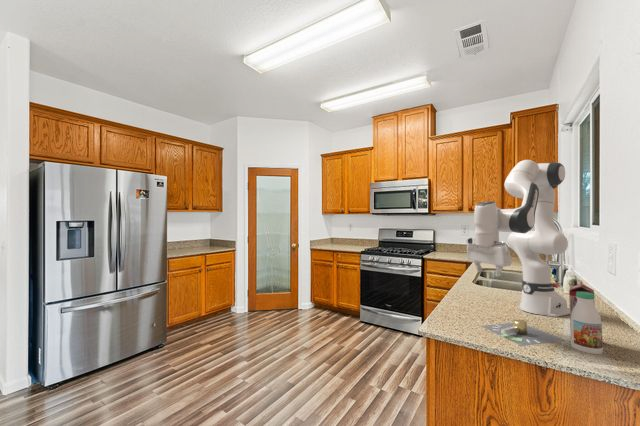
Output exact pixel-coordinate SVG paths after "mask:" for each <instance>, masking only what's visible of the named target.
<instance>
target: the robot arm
mask: <svg viewBox="0 0 640 426" xmlns="http://www.w3.org/2000/svg"><path fill="white" fill-rule="evenodd" d="M565 177H566V168H565V166H564V165H563V163H562V162H561V163H560V162H544V163H543V162H541V163H537V162H536V161H534V160H531V159H523V160H521V161H519V162H517V164H515V166H514V167H513V168H511V170H510V172H509V173H508V175H507V177H506V178H505V181H504V184H503V186H504V188H505V191H506V192H507V193H508V194H509V195H510V196H511V197H514V198H518V199H522V202H521V204H520V205H521V206H519V207H516V208H503V209H502V208H500V207H498V206H497V203H496V201H492V200H491V201H490V200H489V201H488V200H487V201H482V202H481V201H480V202H478V203H476V204H475V206H474V211H473V213H474V214H473V223H474V226H475V227H474V228H475V230H474V236H471V237H469V238H466V244H467V245H466V257H467V260H468V261H473V263H474V266H475V267H476V272H478V273H483V271H484V270H483V267H482V265H481V264H482V263H483V264H488V265H493V266H495V268H496V270H495V271H493V276H495V277H497V278H499V277H501V275H502V273H501V272H502V271H503V269H504V267H510V266H511V265H512V256H511V251H510V249H511V250H513V252H515V254H516V255H517V256H518V258H519V261H520V263H521V269H522V280H521V287H522V290H521V297H520V303H519V309H520V310H521V311H524V312H525V313H526V312H527V313H530V314H535V315H540V316H548V317H549V316H550V317H553V318H558V317H563V316H567V315H570V307H568V301H567V299H566V298H565V297H564V296H562V295H561V294H560V293H558V292H557V291H556V290H555V288H556V289H559V287H560V285H559V283H555V282H552V269H551V266H550V265H549V264H548V263H547V262H546V261H544V260H543V259H542V258H541V256H540V255H549V256H551V255H562V254H564V253H565V252H566V250H568V247H569V241H568V238H567V237H566V236H565V235H564V234H563V233H562V232H560V231H559V229H558V228H557V226H556V223H555V207H556V206H555V205H556V188H557V187H558V186H559V185H561V183H563V182H564V181H565V179H566V178H565ZM533 228H534V230H532V229H533ZM500 232H501V233H502V232H504V233H510V234H509V235H508V237H507V243H506V242H504V241H500ZM509 248H510V249H509Z"/></svg>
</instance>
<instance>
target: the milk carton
mask: <svg viewBox="0 0 640 426" xmlns="http://www.w3.org/2000/svg"><path fill="white" fill-rule="evenodd" d="M579 291H581V292H589V293H593V294H594V295H595V290H594V288H591V287H588V286H586V285H585V284H583V281H582V280H580V283H579V284H577V285H573V286H571V287H569V309H570V314H569V315H570V316H569V321H570V322H569V325H570V331H571V314H572V311H573V309H574V307H575V305H576V303H577V298H576V297H577V296H576V292H579ZM594 305H596V304H595V303H594Z"/></svg>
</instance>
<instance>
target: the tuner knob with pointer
mask: <svg viewBox="0 0 640 426" xmlns="http://www.w3.org/2000/svg"><path fill="white" fill-rule="evenodd" d="M512 323H513V327H508V328H504V329H501V333H502V334H508V333H512V332H516V333H519V334H527V325H528V322H527V321H525V320H524V319H523V320H522V319H513V321H512Z"/></svg>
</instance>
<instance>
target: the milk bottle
mask: <svg viewBox="0 0 640 426" xmlns="http://www.w3.org/2000/svg"><path fill="white" fill-rule="evenodd" d="M576 296H577V297H576V298H577V303H576V305H575V307H574V309H573V311H572V314H571V330H570V339H571V347H572V348H574V349H576V350H578V351H580V352H583V353H588V354H593V355H596V354H597V355H599V354H600V355H601V354H602V353H603V352H604V347H603V346H604V345H603V325H602V317H601V315H600V313H599V311H598V309H597V308H596V306H595V305H596V304H595V293H594V294H593V293H589V292H581V291H579V292H576ZM594 304H595V305H594Z"/></svg>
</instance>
